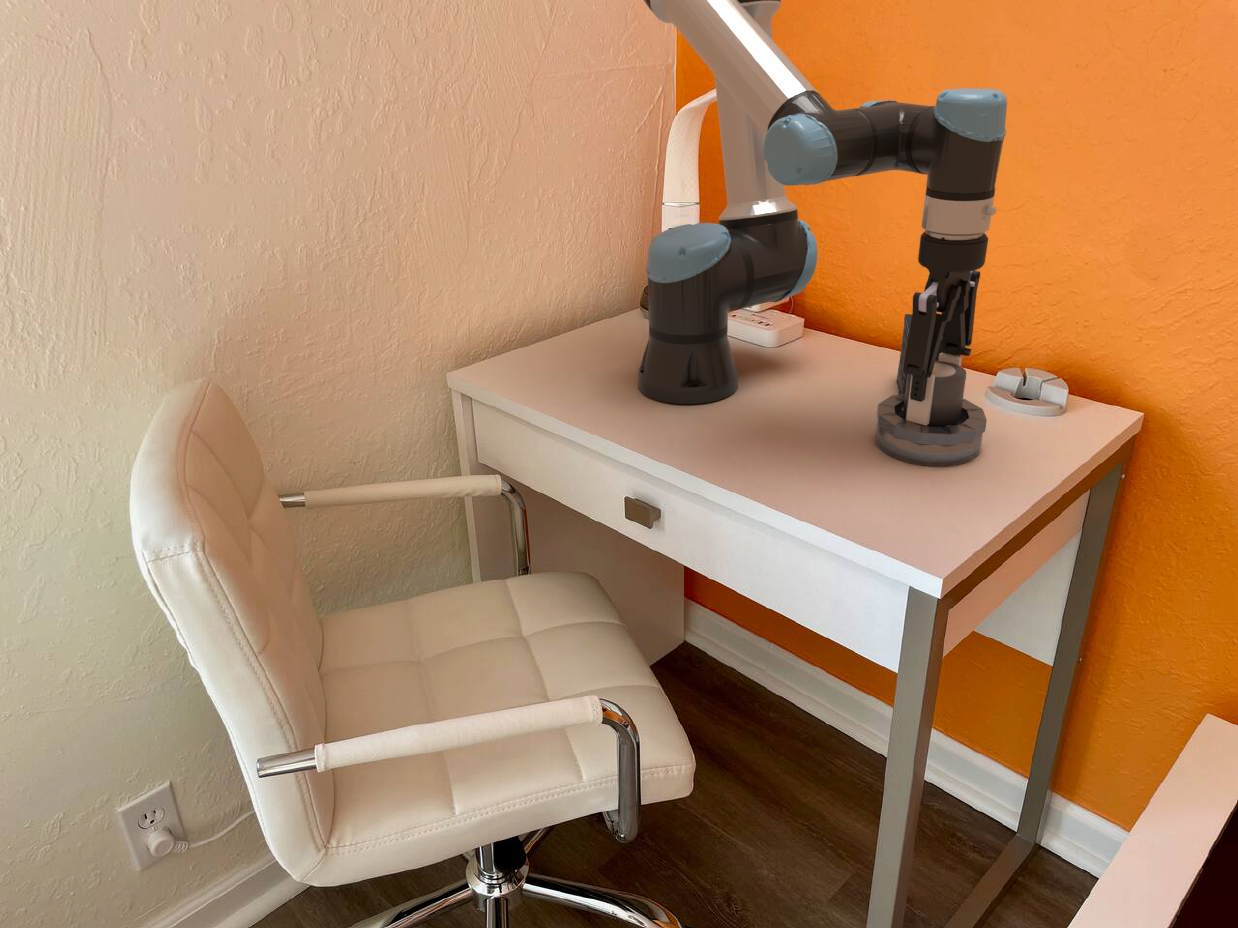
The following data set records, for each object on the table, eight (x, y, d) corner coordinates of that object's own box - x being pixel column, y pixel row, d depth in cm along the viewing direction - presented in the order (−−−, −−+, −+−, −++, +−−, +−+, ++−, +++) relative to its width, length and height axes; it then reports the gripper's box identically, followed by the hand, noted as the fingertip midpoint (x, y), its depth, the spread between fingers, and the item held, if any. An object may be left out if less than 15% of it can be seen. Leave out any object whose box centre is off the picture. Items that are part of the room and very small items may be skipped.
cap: (893, 417, 118) (897, 372, 115) (918, 399, 122) (923, 355, 120) (945, 431, 114) (951, 384, 111) (969, 412, 118) (976, 366, 115)
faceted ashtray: (857, 447, 120) (860, 416, 118) (903, 415, 128) (907, 385, 126) (953, 476, 112) (958, 443, 110) (996, 439, 120) (1001, 408, 118)
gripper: (949, 255, 99) (923, 447, 109) (1019, 220, 112) (991, 394, 122) (884, 245, 103) (866, 430, 114) (959, 212, 116) (937, 381, 127)
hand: (931, 411), depth 118 cm, fingers closed on cap, 7 cm apart
